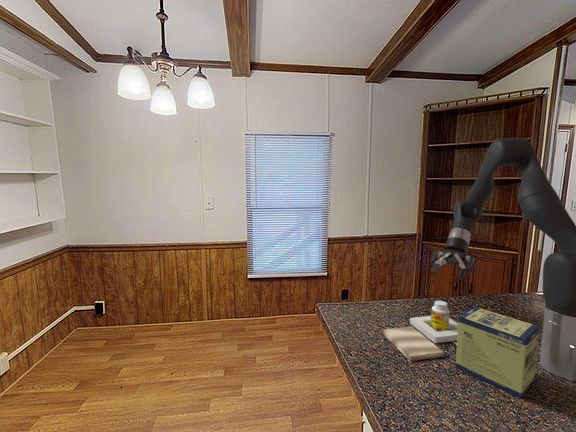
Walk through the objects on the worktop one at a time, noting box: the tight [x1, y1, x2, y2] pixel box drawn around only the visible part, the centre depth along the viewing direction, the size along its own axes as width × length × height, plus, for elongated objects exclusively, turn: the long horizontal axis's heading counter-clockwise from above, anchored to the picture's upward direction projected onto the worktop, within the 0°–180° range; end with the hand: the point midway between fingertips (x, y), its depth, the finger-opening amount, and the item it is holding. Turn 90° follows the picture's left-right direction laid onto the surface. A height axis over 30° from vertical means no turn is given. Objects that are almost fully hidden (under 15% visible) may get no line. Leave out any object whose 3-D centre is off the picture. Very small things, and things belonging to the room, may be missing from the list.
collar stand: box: [409, 315, 458, 344], centre depth 103 cm, size 14×14×2 cm
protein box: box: [454, 306, 540, 400], centre depth 79 cm, size 10×16×16 cm
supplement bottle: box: [430, 300, 451, 332], centre depth 103 cm, size 6×6×10 cm
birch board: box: [382, 325, 444, 362], centre depth 95 cm, size 16×11×2 cm
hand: (447, 276), depth 111 cm, fingers open, 8 cm apart
